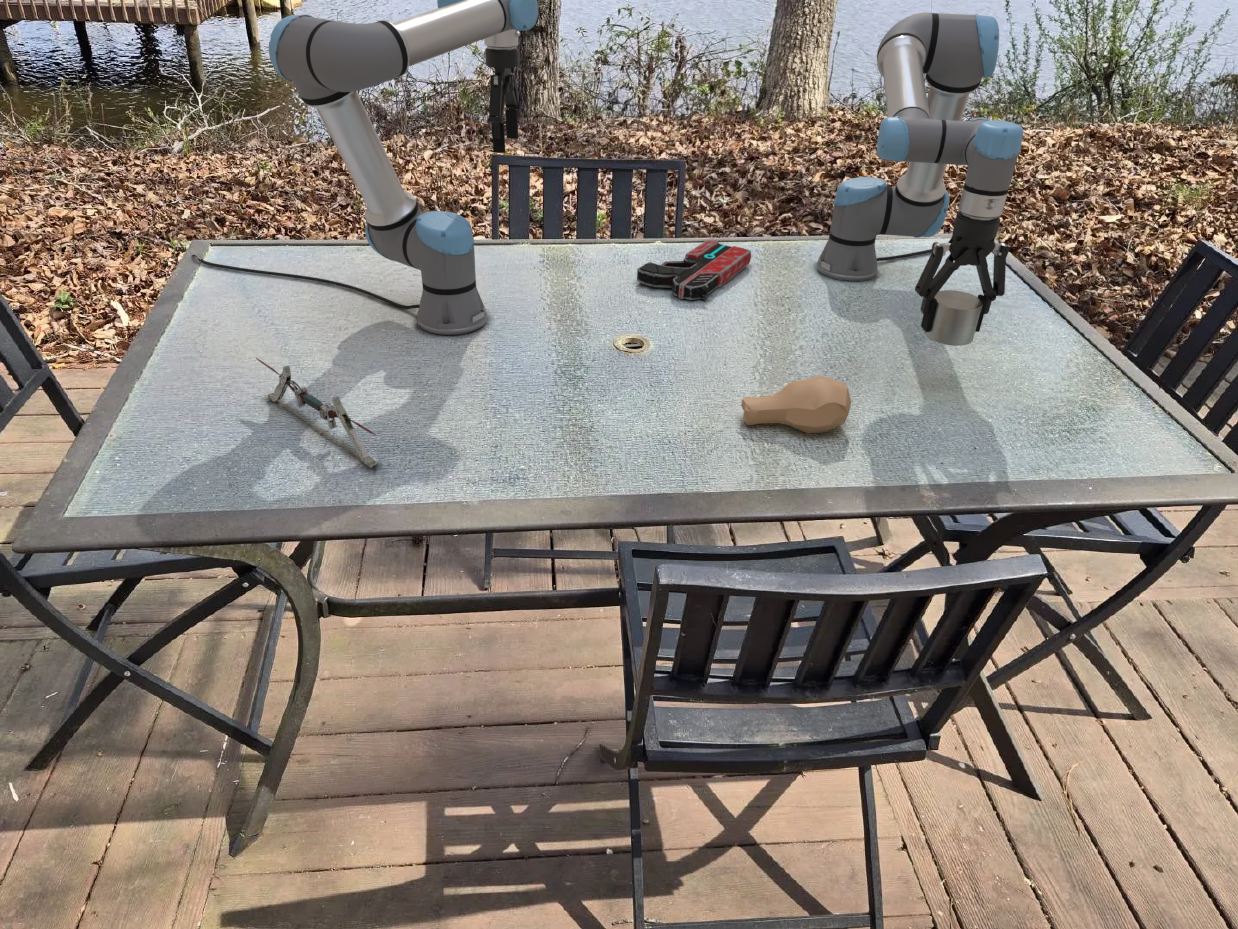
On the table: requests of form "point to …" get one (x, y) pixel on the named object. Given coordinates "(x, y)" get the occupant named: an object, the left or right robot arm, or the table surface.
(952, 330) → the canister
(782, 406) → the squash
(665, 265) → the gun
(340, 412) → the bow
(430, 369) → the table surface
